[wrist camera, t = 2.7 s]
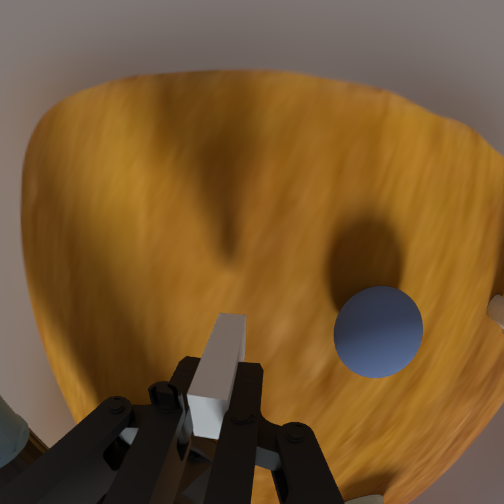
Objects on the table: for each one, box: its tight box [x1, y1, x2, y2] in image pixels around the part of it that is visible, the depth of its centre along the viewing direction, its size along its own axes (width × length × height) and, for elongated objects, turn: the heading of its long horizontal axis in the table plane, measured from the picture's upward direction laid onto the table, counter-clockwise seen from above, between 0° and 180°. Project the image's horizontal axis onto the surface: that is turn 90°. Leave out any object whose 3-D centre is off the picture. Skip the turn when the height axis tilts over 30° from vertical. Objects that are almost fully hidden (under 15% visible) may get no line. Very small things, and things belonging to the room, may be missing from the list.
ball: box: [334, 286, 423, 378], centre depth 16 cm, size 6×6×6 cm
